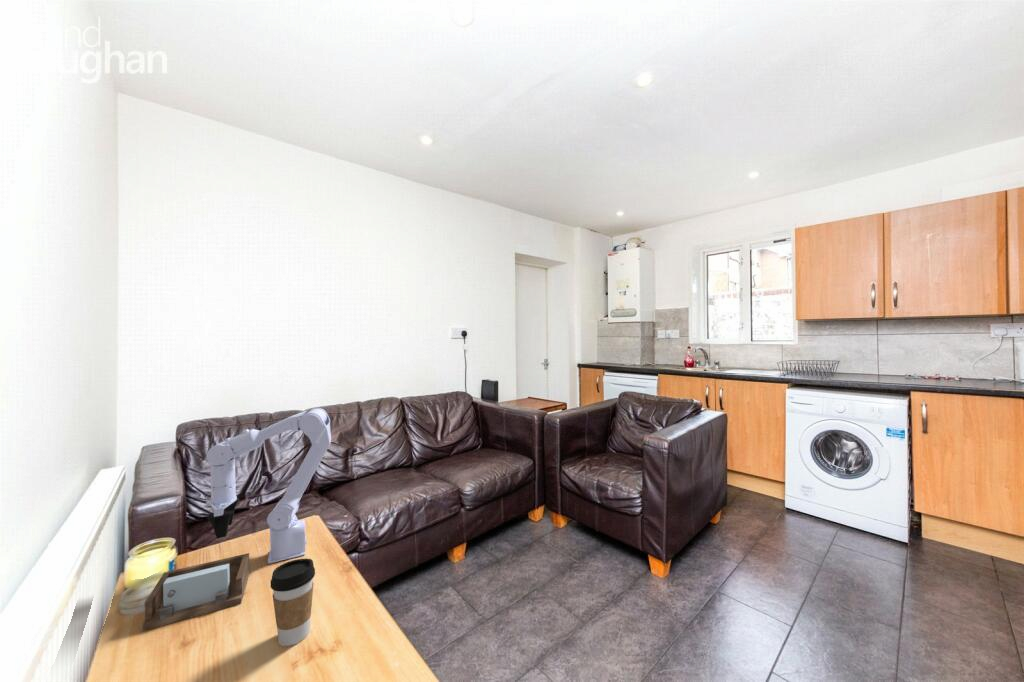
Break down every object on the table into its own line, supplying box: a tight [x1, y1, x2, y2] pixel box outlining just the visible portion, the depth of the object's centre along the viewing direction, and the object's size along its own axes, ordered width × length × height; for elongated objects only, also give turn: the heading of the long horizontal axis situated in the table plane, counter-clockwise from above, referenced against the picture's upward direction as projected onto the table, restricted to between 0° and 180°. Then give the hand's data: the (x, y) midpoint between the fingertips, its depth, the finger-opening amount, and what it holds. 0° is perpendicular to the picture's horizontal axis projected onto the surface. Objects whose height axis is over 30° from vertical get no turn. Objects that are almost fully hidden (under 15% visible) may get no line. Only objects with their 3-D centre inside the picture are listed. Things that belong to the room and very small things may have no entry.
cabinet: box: [142, 552, 251, 632], centre depth 95 cm, size 18×14×6 cm
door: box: [163, 564, 230, 611], centre depth 91 cm, size 12×3×7 cm, turn 118°
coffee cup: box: [270, 558, 316, 647], centre depth 82 cm, size 8×8×15 cm
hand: (224, 531), depth 110 cm, fingers open, 7 cm apart
